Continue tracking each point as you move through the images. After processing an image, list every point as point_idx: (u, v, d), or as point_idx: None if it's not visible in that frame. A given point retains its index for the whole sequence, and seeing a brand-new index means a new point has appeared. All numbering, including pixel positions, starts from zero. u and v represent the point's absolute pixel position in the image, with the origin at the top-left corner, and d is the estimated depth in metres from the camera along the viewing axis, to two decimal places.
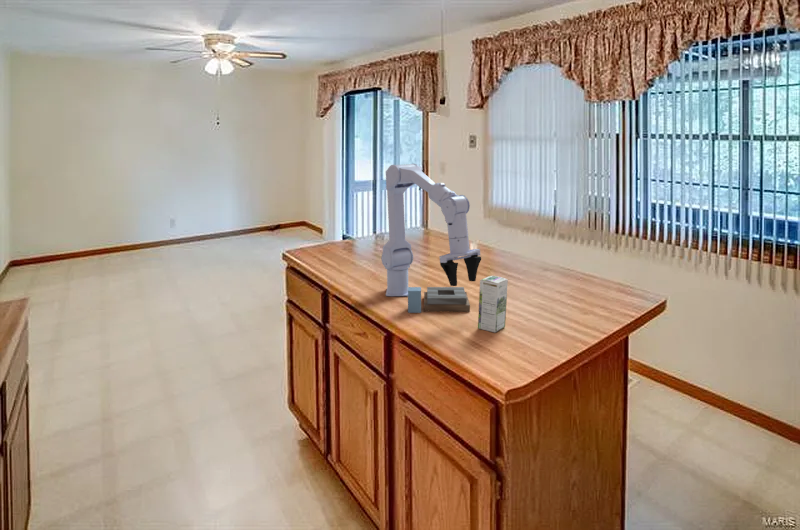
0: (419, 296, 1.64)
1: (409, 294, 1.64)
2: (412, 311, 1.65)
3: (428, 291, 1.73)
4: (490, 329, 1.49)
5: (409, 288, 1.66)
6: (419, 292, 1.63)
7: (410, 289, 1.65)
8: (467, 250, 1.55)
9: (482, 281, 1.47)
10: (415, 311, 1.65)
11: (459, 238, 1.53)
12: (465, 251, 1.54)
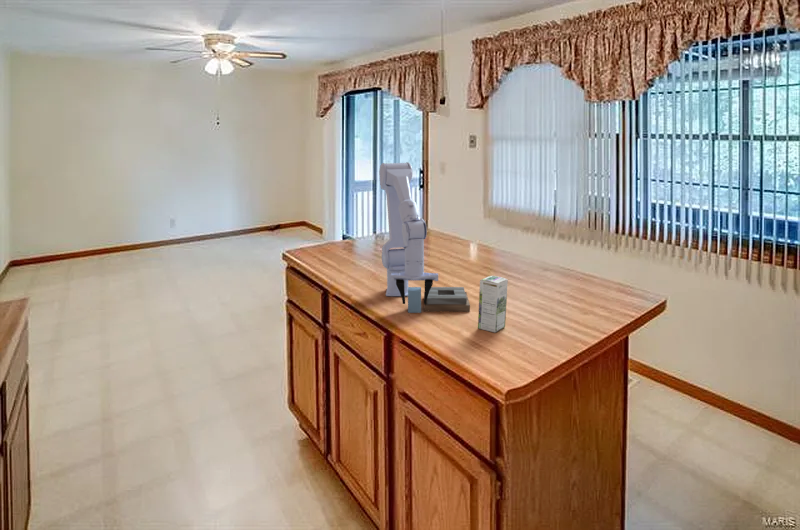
0: (419, 296, 1.64)
1: (409, 294, 1.64)
2: (412, 311, 1.65)
3: None
4: (490, 329, 1.49)
5: (409, 288, 1.66)
6: (419, 292, 1.63)
7: (410, 289, 1.65)
8: (415, 274, 1.61)
9: (482, 281, 1.47)
10: (415, 311, 1.65)
11: (408, 262, 1.61)
12: (412, 275, 1.61)
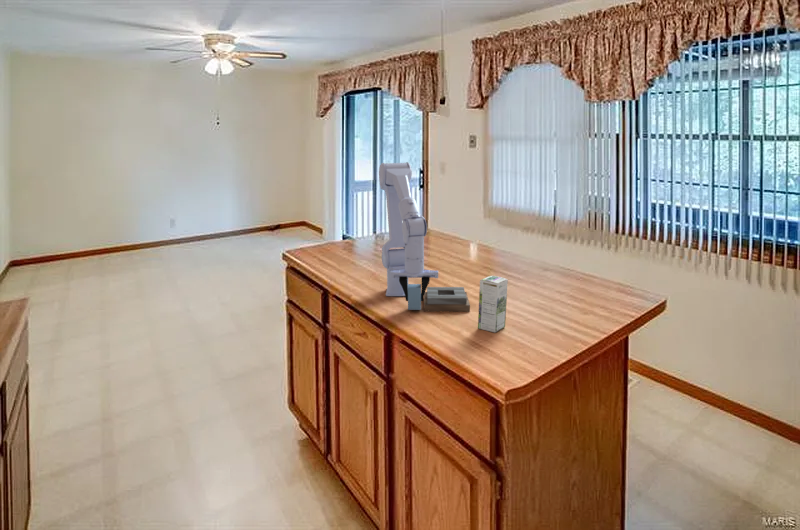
0: (419, 293, 1.64)
1: (409, 291, 1.63)
2: (412, 308, 1.65)
3: (428, 291, 1.73)
4: (490, 329, 1.49)
5: (409, 285, 1.66)
6: (419, 289, 1.63)
7: (410, 285, 1.65)
8: (415, 272, 1.61)
9: (482, 281, 1.47)
10: (415, 308, 1.65)
11: (408, 259, 1.61)
12: (412, 272, 1.61)
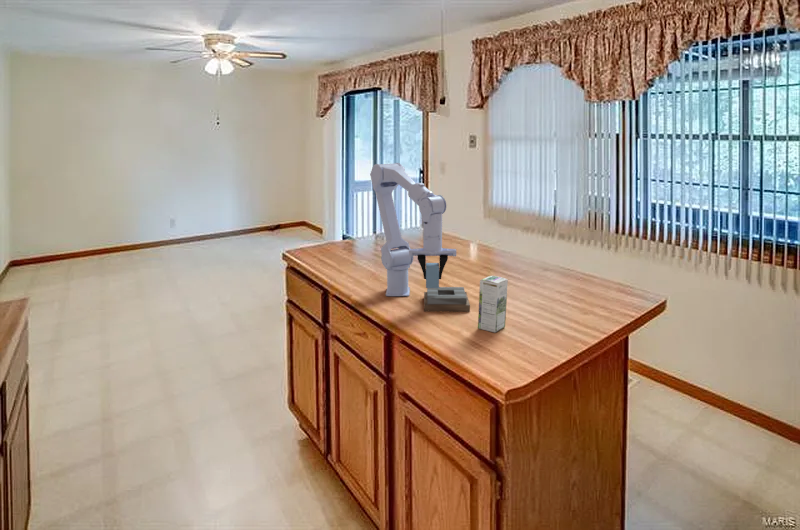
0: (437, 271, 1.65)
1: (427, 269, 1.65)
2: (430, 286, 1.66)
3: (428, 291, 1.73)
4: (490, 329, 1.49)
5: (427, 263, 1.67)
6: (437, 267, 1.65)
7: (428, 264, 1.66)
8: (433, 249, 1.63)
9: (482, 281, 1.47)
10: (433, 286, 1.66)
11: (426, 237, 1.62)
12: (431, 250, 1.63)
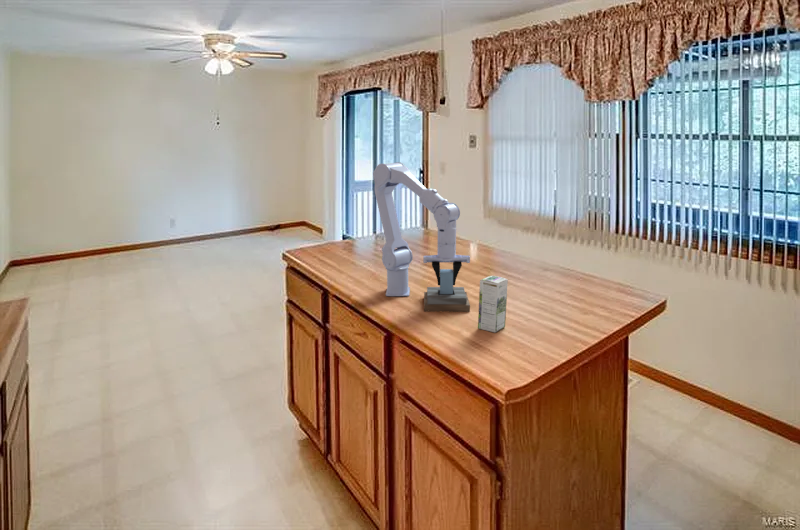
0: (451, 278, 1.68)
1: (441, 276, 1.68)
2: (444, 292, 1.69)
3: (428, 291, 1.73)
4: (490, 329, 1.49)
5: (441, 270, 1.70)
6: (451, 274, 1.68)
7: (442, 270, 1.70)
8: (448, 256, 1.66)
9: (482, 281, 1.47)
10: (447, 292, 1.69)
11: (441, 244, 1.65)
12: (445, 257, 1.66)
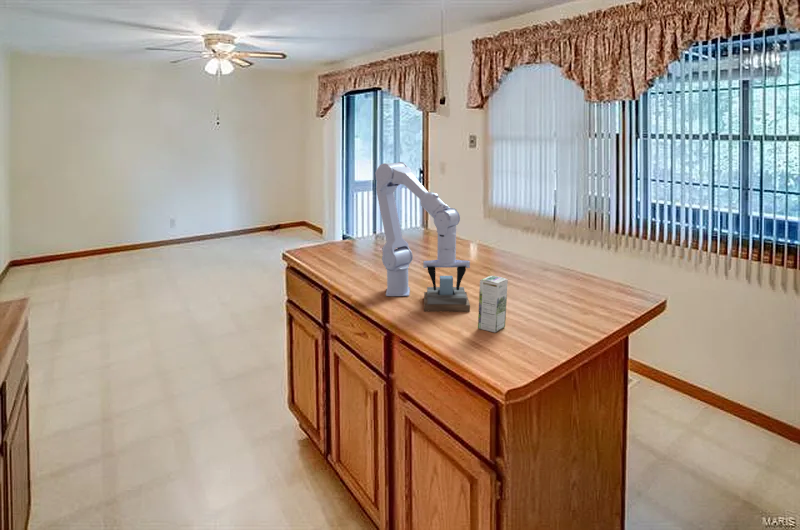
0: (451, 284, 1.69)
1: (441, 282, 1.68)
2: None
3: (428, 291, 1.73)
4: (490, 329, 1.49)
5: (441, 276, 1.71)
6: (451, 280, 1.68)
7: (442, 277, 1.70)
8: (448, 261, 1.66)
9: (482, 281, 1.47)
10: None
11: (441, 249, 1.66)
12: (445, 262, 1.66)
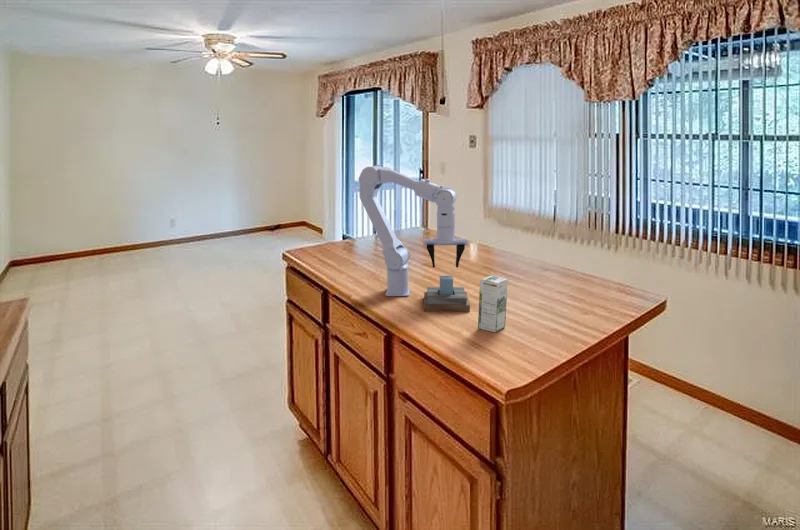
0: (451, 284, 1.69)
1: (441, 282, 1.68)
2: None
3: (428, 291, 1.73)
4: (490, 329, 1.49)
5: (441, 276, 1.71)
6: (451, 280, 1.68)
7: (442, 277, 1.70)
8: (447, 239, 1.72)
9: (482, 281, 1.47)
10: None
11: (440, 227, 1.72)
12: (444, 240, 1.73)
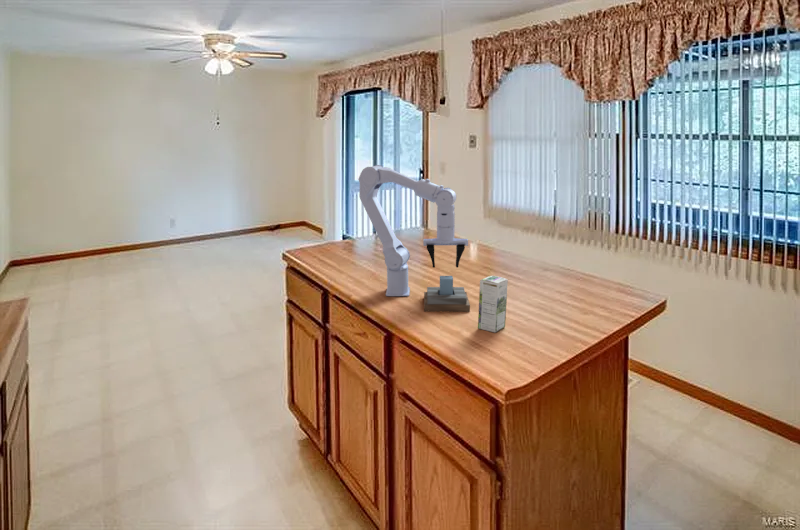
0: (451, 284, 1.69)
1: (441, 282, 1.68)
2: None
3: (428, 291, 1.73)
4: (490, 329, 1.49)
5: (441, 276, 1.71)
6: (451, 280, 1.68)
7: (442, 277, 1.70)
8: (447, 239, 1.72)
9: (482, 281, 1.47)
10: None
11: (440, 227, 1.72)
12: (444, 240, 1.73)
